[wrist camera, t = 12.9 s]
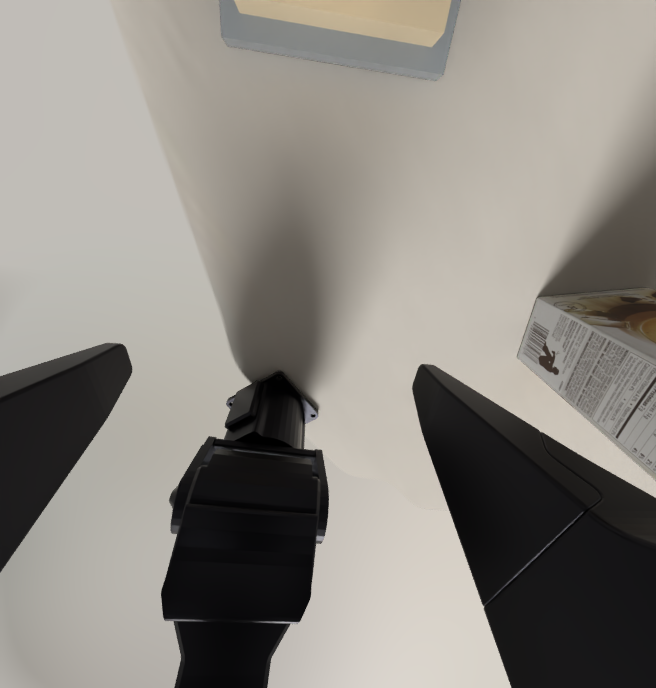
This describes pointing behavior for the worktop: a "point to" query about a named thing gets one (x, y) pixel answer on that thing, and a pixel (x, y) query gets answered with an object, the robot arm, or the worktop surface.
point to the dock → (347, 32)
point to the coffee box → (601, 362)
